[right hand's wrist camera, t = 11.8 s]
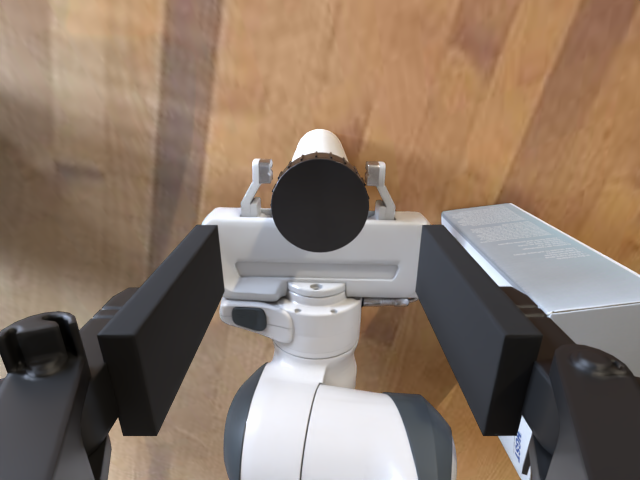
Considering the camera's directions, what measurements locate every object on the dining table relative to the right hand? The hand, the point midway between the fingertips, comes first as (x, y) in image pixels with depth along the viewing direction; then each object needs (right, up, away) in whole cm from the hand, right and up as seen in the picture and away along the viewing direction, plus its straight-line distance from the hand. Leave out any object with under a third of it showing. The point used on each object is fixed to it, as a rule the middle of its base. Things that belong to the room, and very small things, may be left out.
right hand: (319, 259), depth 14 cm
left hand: (0, +7, +17) cm, 19 cm away
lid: (0, +3, +6) cm, 7 cm away
